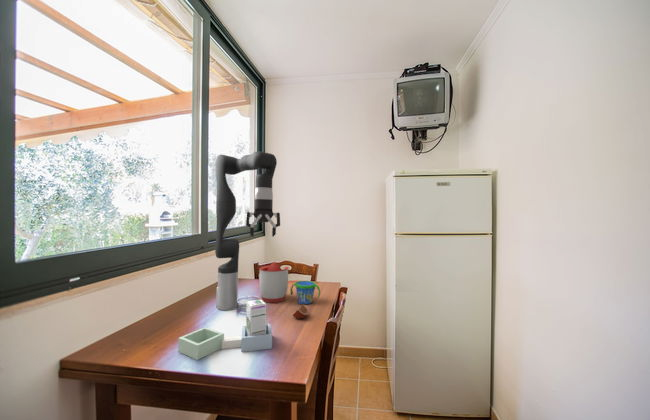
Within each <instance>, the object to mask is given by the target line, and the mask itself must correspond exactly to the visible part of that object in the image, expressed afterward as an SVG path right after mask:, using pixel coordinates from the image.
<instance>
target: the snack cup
mask: <svg viewBox="0 0 650 420" xmlns="http://www.w3.org/2000/svg"><path fill="white" fill-rule="evenodd" d="M294 286H295V291H296V299H297V302H298V304H299V305H303V304H304V305H310V304H312V303H313V300H314V299H313V298H314V294H315V289H317V290H318V295H317V298H318V299H319V298H320V295H321V289H320V286H319V285H318V284H317V283H316V282H315V281H311V280H299V281H296V282H294V283H293V284H292V285H291V288H290V289H289V290H290V293H289V294H290V295H291V296H293V294H294V293H293V291H294V290H293V287H294Z"/></svg>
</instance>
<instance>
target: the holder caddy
mask: <svg viewBox="0 0 650 420" xmlns="http://www.w3.org/2000/svg"><path fill="white" fill-rule="evenodd" d="M177 343H178V344H177V345H178V346H177V348H178V350H177V351H178V353H180V354H182V355H185V356H187V357H190V358H192V359H194V360H196V361H198V359H199V360H201V359H202V357H203V358H204V356H205V357H206V356H209V355H210V354H212V353H215V352H217V351H218V350H220V349H221V350H225V349H234V348H241V350H240V351H241V353H243V352H244V353H245V352H251V351H261V350H270V349H273V332H272V326H271V323H266V334H265V335H255V336H246V325H242V329H241V335H236V336H235V335H234V336H226V337H225V333H223V332H221V331H218V330H215V329H212V328H209V327H202V328H200V329H197V330H195V331H192V332H189V333H187V334H184V335H183V336H182V335H181V336H180V337H178V342H177ZM200 358H201V359H200Z"/></svg>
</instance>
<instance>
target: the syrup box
mask: <svg viewBox="0 0 650 420" xmlns="http://www.w3.org/2000/svg"><path fill="white" fill-rule="evenodd" d="M245 314H246V321H245V322H246V325H245V326H246V336H255V335H265V334H266V324H267V302H265V301H263V300H262V298H260V299H253V300H249V301H246V313H245Z"/></svg>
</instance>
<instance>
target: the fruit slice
mask: <svg viewBox="0 0 650 420" xmlns="http://www.w3.org/2000/svg"><path fill="white" fill-rule="evenodd" d="M309 313H310V312H309V309H308V307H307V306H306V304H301V305H300V306H299V307H298V308H297V310H295V312H294V313H293V314H292V316H293V317H294V318H295V319H298V320H299V319H304V318H306V317H307V316H308V315H309Z"/></svg>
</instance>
